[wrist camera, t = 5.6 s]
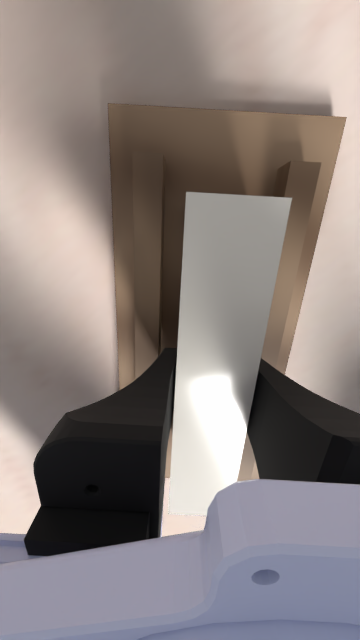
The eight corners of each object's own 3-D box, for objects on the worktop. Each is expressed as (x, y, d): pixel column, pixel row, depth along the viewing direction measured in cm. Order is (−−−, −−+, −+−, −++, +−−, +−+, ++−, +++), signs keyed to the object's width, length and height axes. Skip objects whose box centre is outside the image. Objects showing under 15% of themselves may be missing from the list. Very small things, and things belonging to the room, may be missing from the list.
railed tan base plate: (254, 470, 19) (264, 504, 17) (125, 463, 19) (117, 496, 17) (333, 126, 11) (372, 100, 9) (114, 113, 11) (95, 83, 9)
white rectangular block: (217, 435, 17) (229, 517, 12) (172, 433, 17) (168, 513, 12) (249, 208, 12) (292, 197, 7) (185, 205, 12) (186, 192, 7)
